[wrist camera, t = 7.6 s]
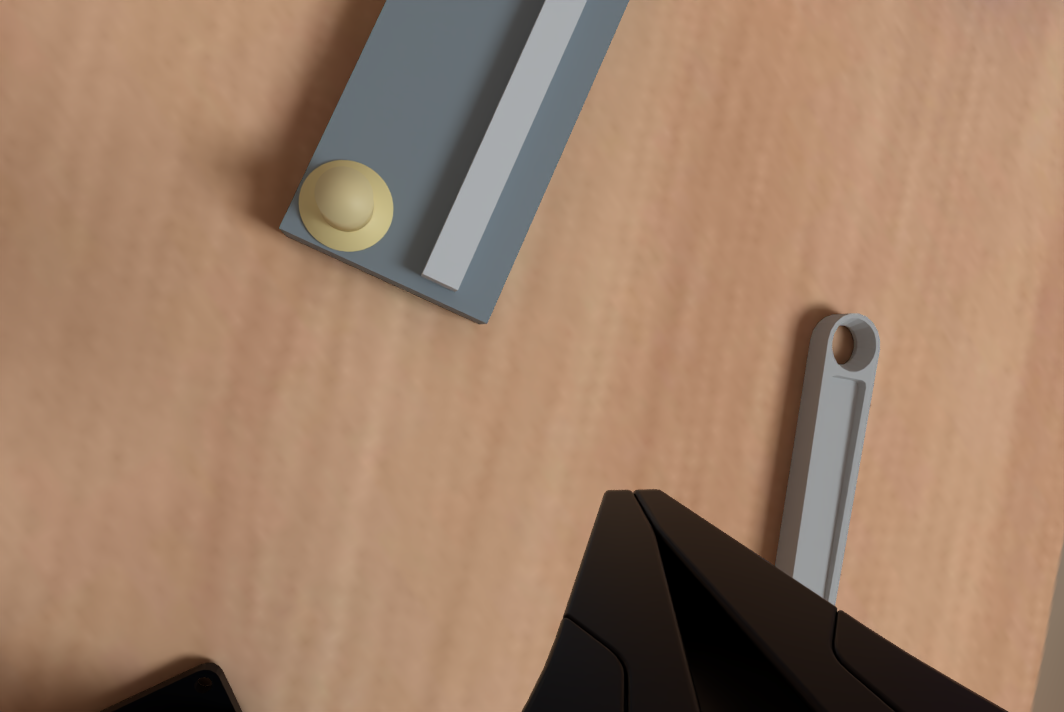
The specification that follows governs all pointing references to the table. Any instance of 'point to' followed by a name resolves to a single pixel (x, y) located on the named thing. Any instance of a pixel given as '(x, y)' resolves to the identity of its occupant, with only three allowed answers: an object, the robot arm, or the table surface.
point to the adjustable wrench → (827, 455)
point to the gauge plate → (450, 141)
